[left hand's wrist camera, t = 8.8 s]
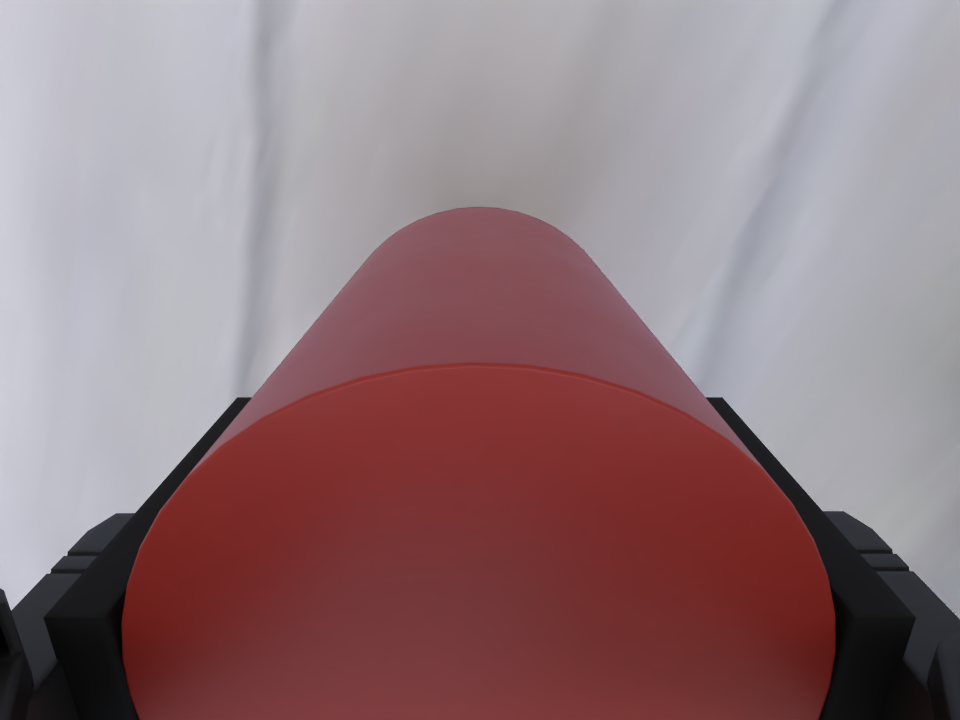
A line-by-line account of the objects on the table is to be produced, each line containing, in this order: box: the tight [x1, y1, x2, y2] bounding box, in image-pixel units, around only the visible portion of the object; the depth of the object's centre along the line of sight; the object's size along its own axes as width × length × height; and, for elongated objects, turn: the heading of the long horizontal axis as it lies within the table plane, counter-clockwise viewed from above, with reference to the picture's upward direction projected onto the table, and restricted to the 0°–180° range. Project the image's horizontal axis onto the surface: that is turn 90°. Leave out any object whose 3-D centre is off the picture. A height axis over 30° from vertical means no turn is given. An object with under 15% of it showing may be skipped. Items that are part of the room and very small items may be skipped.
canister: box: [121, 207, 836, 720], centre depth 14 cm, size 9×9×13 cm
